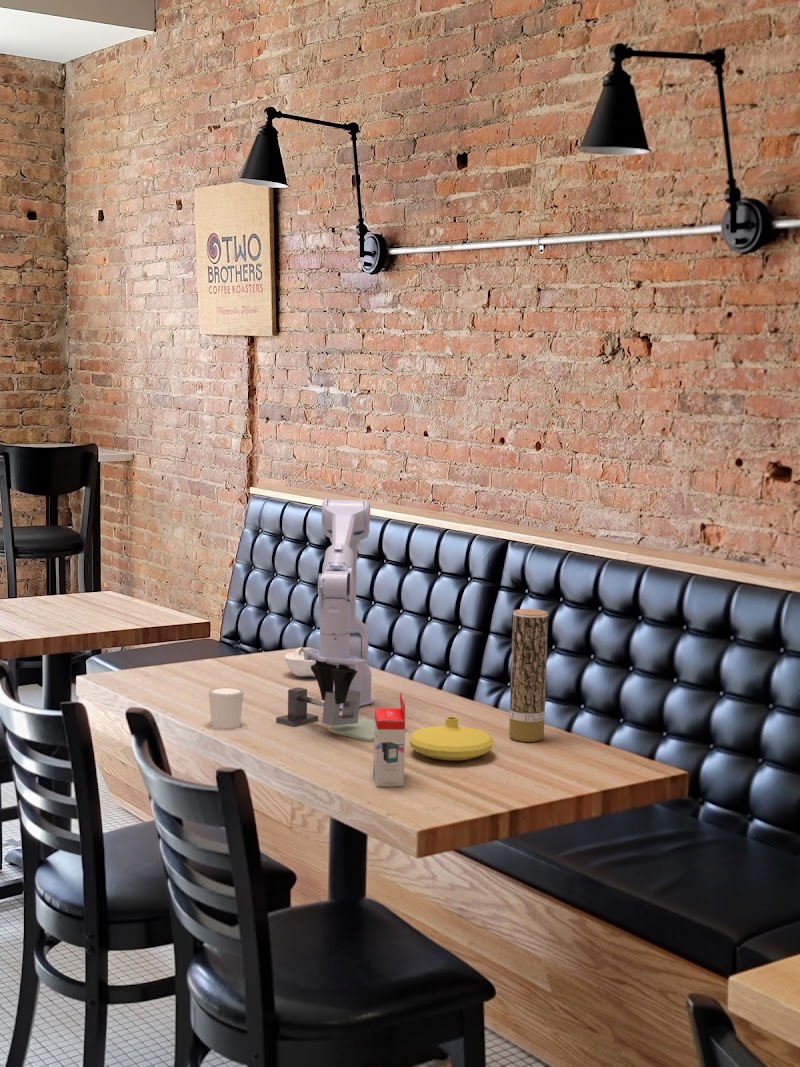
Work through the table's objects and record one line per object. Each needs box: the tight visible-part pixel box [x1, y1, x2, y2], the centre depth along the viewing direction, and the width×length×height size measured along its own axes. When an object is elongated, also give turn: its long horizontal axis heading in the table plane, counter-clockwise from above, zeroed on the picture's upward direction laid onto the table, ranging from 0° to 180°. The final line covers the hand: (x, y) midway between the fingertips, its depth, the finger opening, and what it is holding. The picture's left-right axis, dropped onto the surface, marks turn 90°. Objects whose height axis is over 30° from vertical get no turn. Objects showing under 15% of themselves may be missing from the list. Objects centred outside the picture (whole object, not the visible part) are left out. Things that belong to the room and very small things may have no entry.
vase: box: [408, 716, 495, 761], centre depth 248 cm, size 16×16×7 cm
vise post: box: [275, 686, 324, 728], centre depth 267 cm, size 7×13×7 cm, turn 50°
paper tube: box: [508, 608, 549, 743], centre depth 260 cm, size 7×7×25 cm
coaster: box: [327, 717, 408, 743], centre depth 264 cm, size 11×11×1 cm
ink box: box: [372, 692, 406, 788], centre depth 231 cm, size 8×5×15 cm, turn 5°
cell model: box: [283, 646, 316, 678], centre depth 310 cm, size 10×12×7 cm
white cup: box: [208, 687, 244, 730], centre depth 265 cm, size 7×7×7 cm
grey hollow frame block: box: [321, 689, 360, 727], centre depth 261 cm, size 7×3×6 cm, turn 140°
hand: (333, 701), depth 260 cm, fingers closed on grey hollow frame block, 3 cm apart
